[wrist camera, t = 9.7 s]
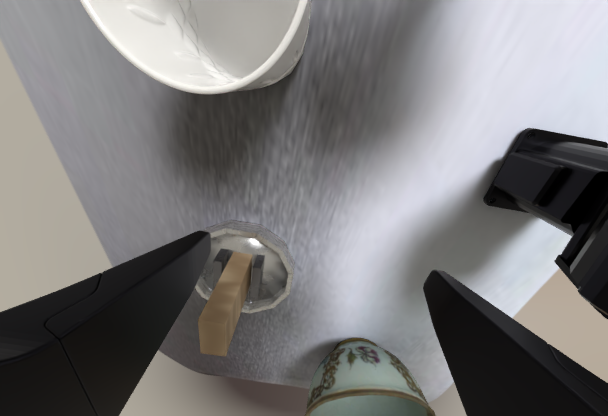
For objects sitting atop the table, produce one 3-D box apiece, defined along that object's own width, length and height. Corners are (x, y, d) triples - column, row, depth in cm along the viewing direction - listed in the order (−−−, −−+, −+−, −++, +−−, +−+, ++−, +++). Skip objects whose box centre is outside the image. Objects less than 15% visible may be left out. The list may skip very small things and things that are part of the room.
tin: (300, 231, 23) (299, 246, 21) (286, 307, 28) (283, 325, 25) (190, 212, 22) (176, 226, 20) (195, 292, 27) (184, 310, 25)
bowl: (312, 380, 35) (310, 455, 27) (300, 320, 29) (294, 395, 22) (405, 379, 33) (429, 457, 26) (413, 315, 27) (447, 394, 20)
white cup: (243, 113, 18) (172, 132, 9) (176, 0, 15) (-22, -134, 6) (334, 58, 16) (356, 14, 7) (278, -84, 13) (200, -451, 4)
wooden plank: (252, 254, 24) (225, 323, 17) (250, 282, 26) (225, 356, 18) (233, 251, 24) (197, 320, 17) (233, 280, 25) (200, 353, 18)
